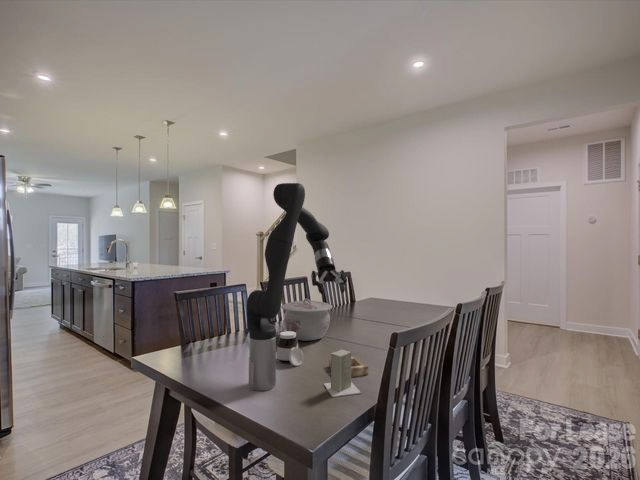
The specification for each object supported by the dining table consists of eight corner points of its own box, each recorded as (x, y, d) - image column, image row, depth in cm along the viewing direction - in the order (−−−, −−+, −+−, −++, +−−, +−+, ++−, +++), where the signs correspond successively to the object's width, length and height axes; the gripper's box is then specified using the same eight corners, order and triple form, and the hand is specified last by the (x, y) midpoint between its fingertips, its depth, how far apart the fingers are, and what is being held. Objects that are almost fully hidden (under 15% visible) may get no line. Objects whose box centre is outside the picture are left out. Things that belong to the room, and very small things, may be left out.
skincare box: (342, 382, 118) (342, 348, 118) (351, 386, 115) (352, 351, 115) (330, 388, 113) (330, 352, 113) (339, 392, 110) (340, 356, 110)
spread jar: (284, 355, 147) (284, 329, 147) (308, 358, 143) (308, 331, 143) (272, 365, 135) (272, 337, 135) (298, 368, 132) (298, 339, 132)
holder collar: (338, 377, 123) (338, 369, 123) (329, 366, 134) (329, 358, 134) (368, 374, 126) (368, 366, 126) (356, 363, 138) (356, 356, 138)
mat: (332, 397, 108) (332, 396, 108) (323, 384, 117) (323, 383, 117) (360, 393, 110) (360, 392, 110) (350, 381, 120) (350, 380, 120)
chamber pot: (323, 348, 157) (323, 304, 158) (271, 342, 166) (271, 301, 166) (339, 332, 184) (339, 295, 184) (293, 328, 193) (293, 293, 193)
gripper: (309, 255, 137) (317, 287, 126) (342, 255, 141) (352, 286, 130) (306, 267, 142) (313, 298, 131) (338, 267, 146) (347, 297, 135)
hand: (332, 292), depth 130 cm, fingers open, 8 cm apart
